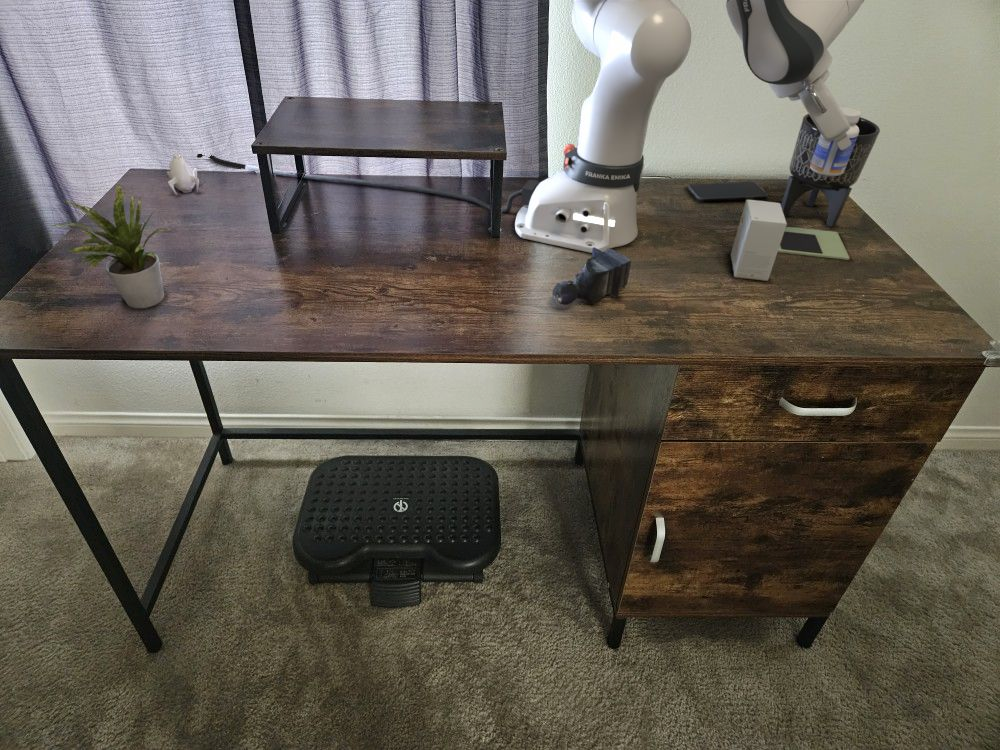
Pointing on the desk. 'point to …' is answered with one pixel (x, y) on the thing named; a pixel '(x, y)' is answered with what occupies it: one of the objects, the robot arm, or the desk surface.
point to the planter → (829, 185)
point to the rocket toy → (182, 175)
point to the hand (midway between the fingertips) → (841, 138)
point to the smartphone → (727, 191)
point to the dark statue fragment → (595, 278)
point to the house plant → (124, 253)
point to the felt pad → (813, 243)
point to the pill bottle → (835, 149)
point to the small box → (757, 239)
